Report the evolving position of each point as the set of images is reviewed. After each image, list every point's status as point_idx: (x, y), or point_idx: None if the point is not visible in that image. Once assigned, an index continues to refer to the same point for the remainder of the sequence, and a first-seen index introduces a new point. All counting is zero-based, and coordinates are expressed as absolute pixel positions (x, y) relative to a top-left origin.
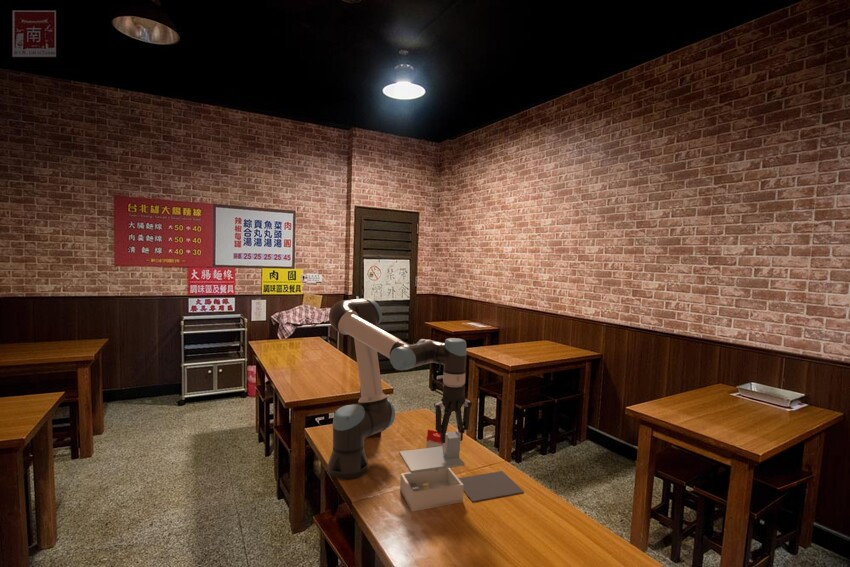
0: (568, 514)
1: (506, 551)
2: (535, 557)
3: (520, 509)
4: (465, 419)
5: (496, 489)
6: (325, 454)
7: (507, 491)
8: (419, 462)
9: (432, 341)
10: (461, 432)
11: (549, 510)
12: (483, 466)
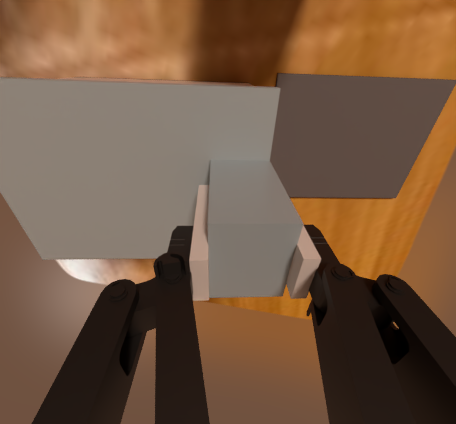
0: (392, 266)
1: (240, 298)
2: (268, 310)
3: (333, 238)
4: (416, 407)
5: (347, 172)
6: None
7: (363, 187)
8: (75, 218)
9: None
10: (307, 310)
11: (376, 252)
12: (443, 4)
